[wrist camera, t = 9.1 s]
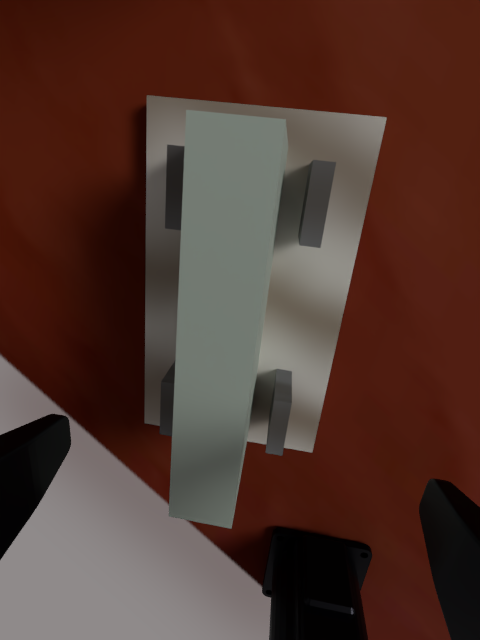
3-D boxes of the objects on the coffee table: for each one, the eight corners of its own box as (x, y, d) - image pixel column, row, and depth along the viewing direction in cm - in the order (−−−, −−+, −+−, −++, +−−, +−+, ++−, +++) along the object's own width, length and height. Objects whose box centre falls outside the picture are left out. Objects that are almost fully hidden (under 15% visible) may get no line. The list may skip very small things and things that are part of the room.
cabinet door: (250, 418, 20) (231, 528, 14) (207, 411, 21) (168, 516, 14) (288, 147, 15) (285, 119, 9) (230, 141, 15) (186, 109, 9)
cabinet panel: (311, 441, 22) (315, 494, 18) (150, 413, 22) (122, 458, 19) (380, 121, 15) (409, 101, 12) (155, 100, 16) (114, 75, 12)
